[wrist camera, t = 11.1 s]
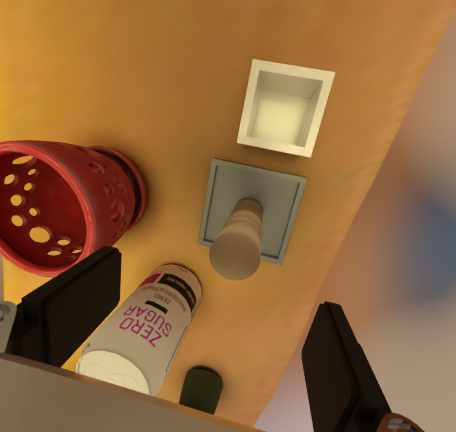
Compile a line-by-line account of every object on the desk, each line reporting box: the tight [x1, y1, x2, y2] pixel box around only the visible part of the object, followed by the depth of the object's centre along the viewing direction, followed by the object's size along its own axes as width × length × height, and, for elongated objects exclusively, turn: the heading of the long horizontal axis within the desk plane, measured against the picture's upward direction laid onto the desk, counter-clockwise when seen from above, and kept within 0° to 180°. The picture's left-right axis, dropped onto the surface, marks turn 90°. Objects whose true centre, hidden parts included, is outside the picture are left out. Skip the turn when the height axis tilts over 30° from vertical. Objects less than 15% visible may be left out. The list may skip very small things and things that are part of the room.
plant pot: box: [0, 140, 146, 277], centre depth 26 cm, size 13×13×12 cm
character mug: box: [179, 369, 222, 415], centre depth 32 cm, size 11×7×13 cm, turn 161°
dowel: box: [209, 197, 263, 280], centre depth 22 cm, size 4×4×13 cm
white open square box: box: [237, 59, 335, 157], centre depth 23 cm, size 7×7×7 cm
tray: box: [198, 158, 307, 265], centre depth 29 cm, size 11×11×2 cm
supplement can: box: [76, 264, 202, 396], centre depth 27 cm, size 8×8×15 cm
